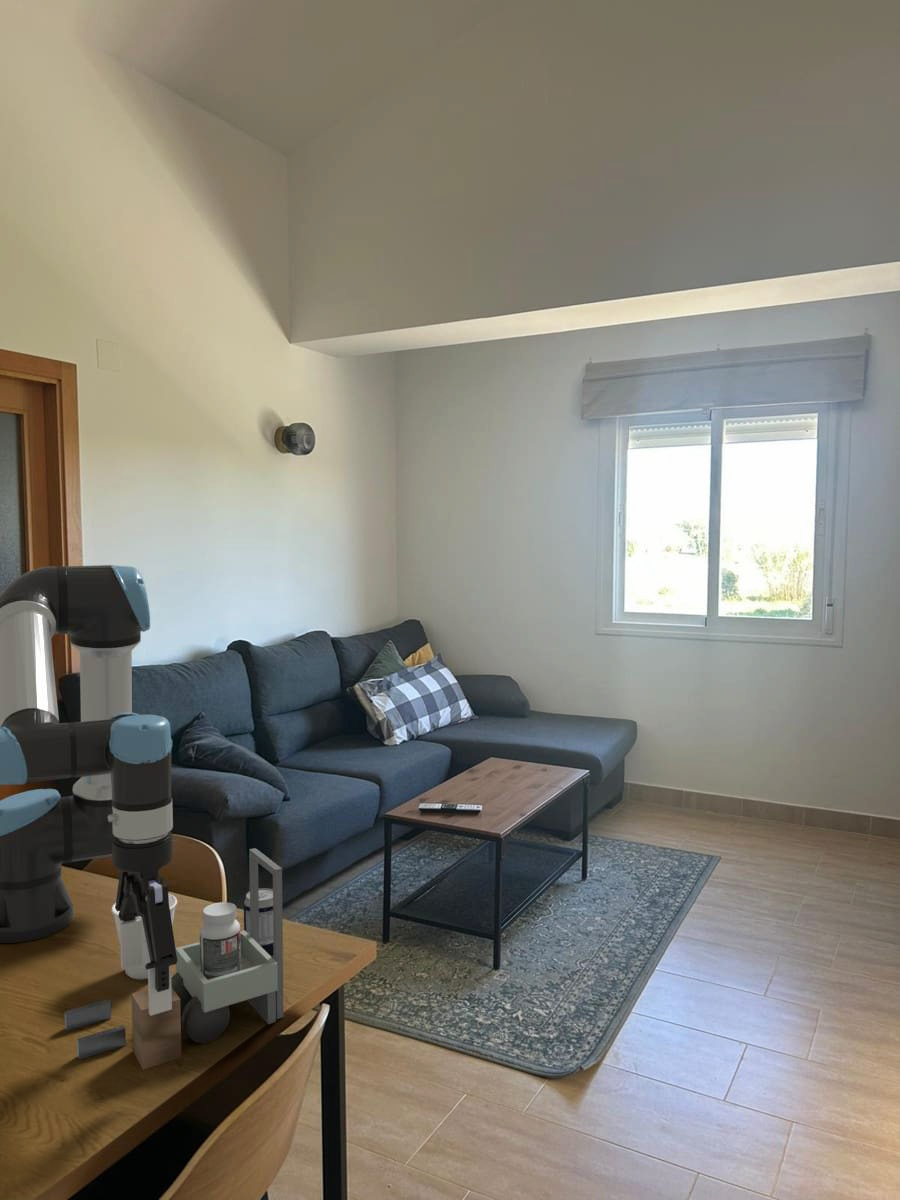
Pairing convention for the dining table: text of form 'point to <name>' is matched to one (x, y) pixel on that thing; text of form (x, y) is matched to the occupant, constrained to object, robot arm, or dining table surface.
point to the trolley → (254, 982)
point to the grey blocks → (98, 1040)
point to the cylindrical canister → (262, 919)
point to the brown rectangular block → (155, 1031)
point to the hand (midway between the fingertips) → (145, 987)
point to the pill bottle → (220, 941)
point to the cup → (140, 970)
